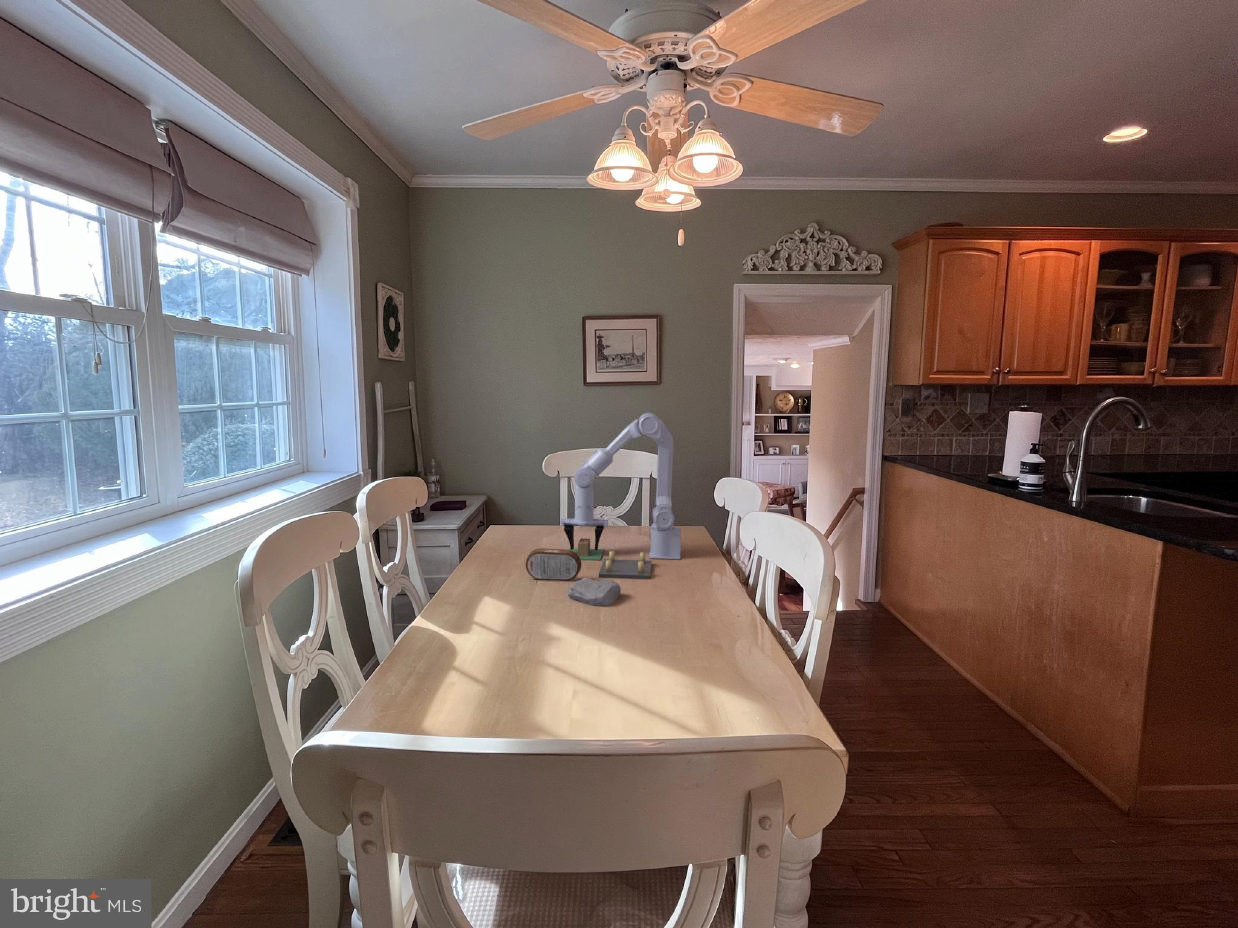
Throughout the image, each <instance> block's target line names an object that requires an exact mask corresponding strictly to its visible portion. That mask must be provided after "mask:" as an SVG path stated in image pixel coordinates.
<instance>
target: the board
mask: <svg viewBox="0 0 1238 928" xmlns="http://www.w3.org/2000/svg"><path fill="white" fill-rule="evenodd" d="M568 550H571V548H570V547H569V548H568ZM571 551H573V552H575V553H576V554H577V555H578V556H579V558H580V560H581V561H590V562H591V561H594V562H595V561H598V562H599V561H602V560H601V559H602V557H603V554H604V551H605V549H603V548H598V550H595V548H591V538H582V537H581V538H580V539H579V541H578V543H577V548H574V549H573V550H571Z"/></svg>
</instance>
